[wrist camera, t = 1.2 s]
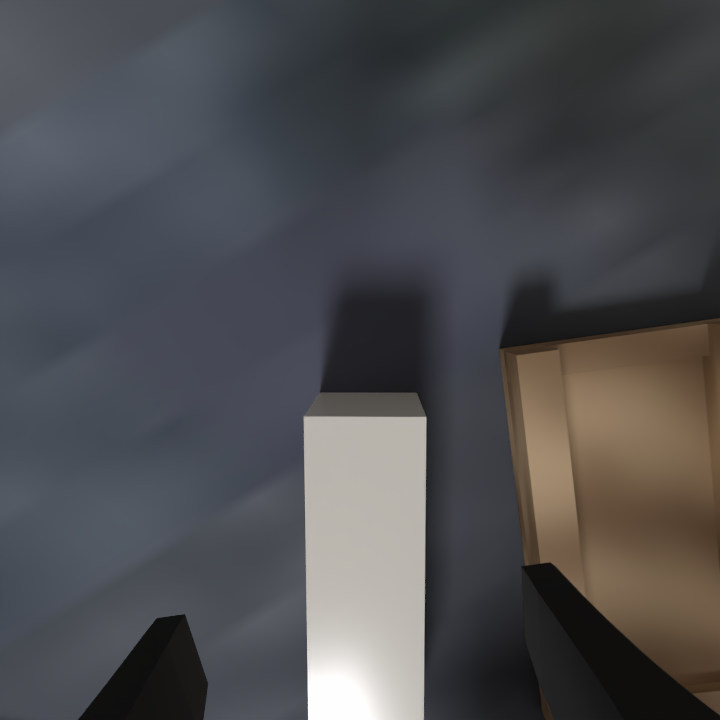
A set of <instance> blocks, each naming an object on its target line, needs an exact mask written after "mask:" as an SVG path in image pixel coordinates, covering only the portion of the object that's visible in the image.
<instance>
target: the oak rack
mask: <svg viewBox="0 0 720 720" xmlns="http://www.w3.org/2000/svg"><path fill="white" fill-rule="evenodd" d="M499 352H500V360H501V368H502V377H503V385H504V394H505V402H506V411H507V419H508V427H509V436H510V444H511V453H512V461H513V469H514V478H515V486H516V495H517V503H518V511H519V520H520V528H521V537H522V545H523V554H524V562H525V566H527V565H534V564H541V563H548V562H551V563H552V564H553V565H555V566H556V567H557V568H558V569H559V570H560V571H561V573H562V574H563V575H564V576H565V577H566V578H567V579H568V580H569V581H570V582H571V583H572V584H573V585H574V586H575V587H576V588H577V589H578V590H579V591H580V593H581V594H582V595H583V596H584V597H585V598H586V599H587V600H588V601H589V602H590V603H591V604H592V605H593V606H594V607H595V608H596V609H597V610H598V611H599V612H600V613H601V614H602V615H603V616H605V617H606V618H607V619H608V620H609V621H610V622H611V623H612V624H613V625H614V626H615V627H616V628H617V629H618V630H619V631H620V632H621V633H623V634H624V635H625V636H626V637H627V638H628V639H629V640H630V641H631V642H632V643H633V644H634V645H635V646H637V647H638V648H639V649H640V650H641V651H642V652H643V653H644V654H646V655H647V656H648V657H649V658H650V659H651V660H652V661H653V662H655V663H656V664H657V665H658V666H659V667H661V668H662V669H663V670H664V671H665V672H666V673H668V674H669V675H670V676H671V677H672V678H674V679H675V680H676V681H677V682H678V683H680V684H681V685H682V686H683V687H684V688H686V689H687V690H688V691H689V692H691V693H692V694H693V695H694V696H696V697H697V698H698V699H699V700H701V701H702V702H703V703H705V704H706V705H707V706H708V707H710V708H711V709H712V710H714V711H715V712H716V713H718V714H719V715H720V318H716V319H709V320H702V321H695V322H688V323H681V324H673V325H666V326H659V327H652V328H645V329H637V330H630V331H623V332H616V333H609V334H601V335H594V336H587V337H580V338H573V339H566V340H558V341H551V342H544V343H537V344H530V345H522V346H515V347H508V348H501V349H499ZM539 688H540V685H539ZM540 696H541V705H542V712H543V715H544V717H545V720H554V718H553V716H552V714H551V711H550V709H549V707H548V705H547V702H546V700H545V698H544V695H543V693H542V691H541V688H540Z"/></svg>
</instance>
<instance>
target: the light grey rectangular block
mask: <svg viewBox="0 0 720 720" xmlns="http://www.w3.org/2000/svg"><path fill="white" fill-rule="evenodd" d="M304 463H305V529H306V595H307V660H308V720H424V632H425V519H426V415H425V412H424V410H423V407H422V405H421V402H420V400H419V397H418V395H417V393H319V395H318V396H317V398H316V399H315V401H314V402H313V404H312V405H311V407H310V408H309V410H308V411H307V412H306V414H305V415H304Z"/></svg>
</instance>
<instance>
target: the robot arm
mask: <svg viewBox="0 0 720 720" xmlns="http://www.w3.org/2000/svg"><path fill="white" fill-rule="evenodd" d="M521 567H522V589H523V611H524V633H525V641H526V644H527V648H528V651H529V654H530V657H531V660H532V663H533V667H534V670H535V673H536V676H537V679H538V682H539V685H540V688H541V691H542V693H543V695H544V698H545V700H546V702H547V705H548V707H549V709H550V711H551V714H552V716H553V718H554V720H720V715H719V714H718V713H716V712H715V711H714V710H712V709H711V708H710V707H708V706H707V705H706V704H705V703H703V702H702V701H701V700H699V699H698V698H697V697H696V696H694V695H693V694H692V693H691V692H689V691H688V690H687V689H686V688H684V687H683V686H682V685H681V684H680V683H678V682H677V681H676V680H675V679H674V678H672V677H671V676H670V675H669V674H668V673H666V672H665V671H664V670H663V669H662V668H661V667H659V666H658V665H657V664H656V663H655V662H653V661H652V660H651V659H650V658H649V657H648V656H647V655H646V654H644V653H643V652H642V651H641V650H640V649H639V648H638V647H637V646H635V645H634V644H633V643H632V642H631V641H630V640H629V639H628V638H627V637H626V636H625V635H624V634H623V633H621V632H620V631H619V630H618V629H617V628H616V627H615V626H614V625H613V624H612V623H611V622H610V621H609V620H608V619H607V618H606V617H605V616H603V615H602V614H601V613H600V612H599V611H598V610H597V609H596V608H595V607H594V606H593V605H592V604H591V603H590V602H589V601H588V600H587V599H586V598H585V597H584V596H583V595H582V594H581V593H580V591H579V590H578V589H577V588H576V587H575V586H574V585H573V584H572V583H571V582H570V581H569V580H568V579H567V578H566V577H565V576H564V575H563V574H562V573H561V571H560V570H559V569H558V568H557V567H556V566H555V565H553V564H552V563H551V562H548V563H541V564H534V565H527V566H521ZM207 688H208V682H207V679H206V676H205V673H204V670H203V667H202V664H201V661H200V658H199V655H198V652H197V649H196V646H195V643H194V640H193V637H192V634H191V631H190V628H189V625H188V622H187V619H186V616H185V614H184V615H177V616H170V617H163V618H157V619H156V620H155V621H154V623H153V624H152V625H151V626H150V628H149V629H148V630H147V631H146V633H145V634H144V635H143V637H142V638H141V639H140V641H139V642H138V643H137V644H136V646H135V647H134V648H133V650H132V651H131V652H130V654H129V655H128V656H127V658H126V659H125V660H124V662H123V663H122V664H121V666H120V667H119V668H118V669H117V671H116V672H115V673H114V675H113V676H112V677H111V679H110V680H109V681H108V683H107V684H106V685H105V686H104V688H103V689H102V690H101V691H100V693H99V694H98V695H97V696H96V698H95V699H94V700H93V702H92V703H91V704H90V705H89V707H88V708H87V709H86V710H85V712H84V713H83V714H82V716H81V717H80V718H79V719H78V720H203V718H204V711H205V703H206V695H207Z"/></svg>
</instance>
